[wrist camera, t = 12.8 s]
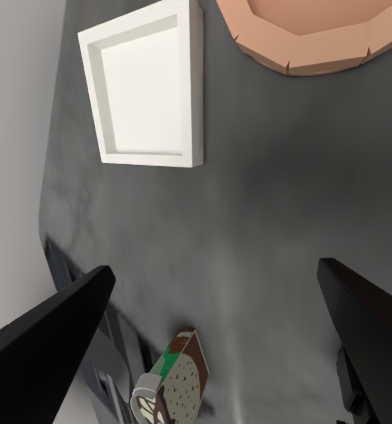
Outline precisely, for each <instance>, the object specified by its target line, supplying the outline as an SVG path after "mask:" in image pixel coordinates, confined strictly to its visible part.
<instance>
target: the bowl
mask: <svg viewBox="0 0 392 424" xmlns="http://www.w3.org/2000/svg"><path fill="white" fill-rule="evenodd" d="M216 1H217V3H218V5H219V7H220V10H221V12H222V14H223V16H224V19H225V21H226V23H227V25H228V28H229V30H230V32H231V34H232V36H233V39H234V40H235V42H236V43H237V45H238V47H239V48H240V49H241V51H242V52H244V53H246V54H248V55H249V56H251V57H252V58H253V59H254V60H255V61H257V62H258V63H260V64H261V65H263V66H264V67H266V68H268V69H270V70H273V71H275V72H278V73H282V74H285V75H290V76H303V77H305V76H320V75H325V74H330V73H335V72H339V71H342V70H345V69H349V68H352V67H357V66H358V65H360V64H361V65H362V64H364V63H365V62H367V61H369V60H371V59H373V58H375V57H377V56H379V55H381V54H383V53H385V52H386V51H388V50H390V49H392V0H216Z"/></svg>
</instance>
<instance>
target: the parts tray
mask: <svg viewBox="0 0 392 424" xmlns="http://www.w3.org/2000/svg"><path fill="white" fill-rule="evenodd" d="M78 38H79V43H80V48H81V54H82V59H83V64H84V69H85V75H86V80H87V85H88V91H89V96H90V101H91V107H92V112H93V117H94V122H95V128H96V133H97V138H98V144H99V149H100V154H101V160H102V162H103V163H121V164H138V165H156V166H174V167H196V166H199V165H203V9H202V8H201V7H200V5H199V4H198V3H197V1H196V0H162V1H160V2H157V3H155V4H152V5H149V6H147V7H144V8H142V9H139V10H136V11H134V12H131V13H129V14H126V15H123V16H121V17H118V18H116V19H113V20H110V21H108V22H105V23H103V24H100V25H98V26H95V27H92V28H90V29H87V30H85V31H82V32H79V33H78Z"/></svg>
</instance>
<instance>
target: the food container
mask: <svg viewBox="0 0 392 424" xmlns="http://www.w3.org/2000/svg"><path fill="white" fill-rule="evenodd" d="M209 376H210V371H209V368H208V365H207V362H206V359H205V356H204V353H203V350H202V347H201V344H200V341H199V338H198V335H197V332H196V329H195V328H184V329H182V330H180V331H179V332H178V333H177V335H176V336H175V337H174V339H173V340H172V342H171V343H170V344H169V346H168V347H167V348H166V350H165V351H164V353H163V354H162V355H161V357H160V358H159V360H158V361H157V362H156V364H155V365H154V367H153V368H152V369H151V371H150V372H149V373H146V374H142V375H141V376H140V377H139V379H138V382H137V384H136V386H135V388H134V391H133V394H132V398H131V402H130V403H131V408H132V411H133V413H134V415H135V417H136V419H137V421H138V422H139V424H195V421H196V417H197V414H198V411H199V408H200V405H201V401H202V398H203V395H204V392H205V389H206V386H207V382H208V379H209Z"/></svg>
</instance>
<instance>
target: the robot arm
mask: <svg viewBox="0 0 392 424" xmlns="http://www.w3.org/2000/svg"><path fill="white" fill-rule="evenodd" d="M317 278H318V282H319V285H320V287H321V290H322V293H323V296H324V299H325V302H326V305H327V308H328V310H329V313H330V316H331V319H332V321H333V324H334V326H335V328H336V331H337V333H338V335H339V337H340V339H341V341H342V343H343V345H344V347H343V348H342V350H341V353H340V355H339V358H338V360H337V363H336V364H337V374H338V376H339V381H340V386H341V392H342V398H343V403H344V407H345V409H346V410H347V412H349V413H352V415H353V420H354V424H392V295H390V294H389V293H387V292H385V291H384V290H382V289H381V288H379V287H378V286H376V285H375V284H373V283H372V282H370V281H368V280H367V279H365V278H364V277H362V276H361V275H359V274H358V273H356V272H354V271H353V270H351V269H350V268H348V267H347V266H345V265H344V264H342V263H341V262H339V261H337V260H336V259H334V258H320V260H319V264H318V271H317ZM115 281H116V278H115V276H114V274H113V272H112V270H111V268H110V267H109V266H108V265H101V266H98V267H96V268H95V269H93V270H92V271H90V272H89V273H87V274H86V275H84V276H82V277H81V278H79V279H78V280H76V281H75V282H73V283H72V284H70V285H68V286H67V287H65V288H64V289H62V290H61V291H59V292H58V293H56V294H54V295H53V296H51V297H50V298H48V299H47V300H45V301H44V302H42V303H41V304H39V305H38V306H36V307H34V308H33V309H31V310H29V311H28V312H26V313H25V314H23V315H22V316H20V317H19V318H17V319H15V320H14V321H12V322H11V323H10V324H8V325H6V326H4V327H3V328H1V329H0V424H52V423H53V421H54V419H55V417H56V415H57V413H58V411H59V409H60V407H61V404H62V402H63V400H64V398H65V396H66V394H67V392H68V389H69V387H70V385H71V383H72V381H73V379H74V377H75V374H76V372H77V370H78V368H79V366H80V364H81V362H82V360H83V357H84V355H85V353H86V351H87V349H88V347H89V344H90V342H91V340H92V338H93V336H94V334H95V332H96V329H97V327H98V325H99V323H100V321H101V319H102V317H103V314H104V312H105V309H106V307H107V304H108V301H109V298H110V296H111V293H112V290H113V287H114V285H115ZM337 424H347V423H345V422H344V421H340V420H337Z"/></svg>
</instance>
